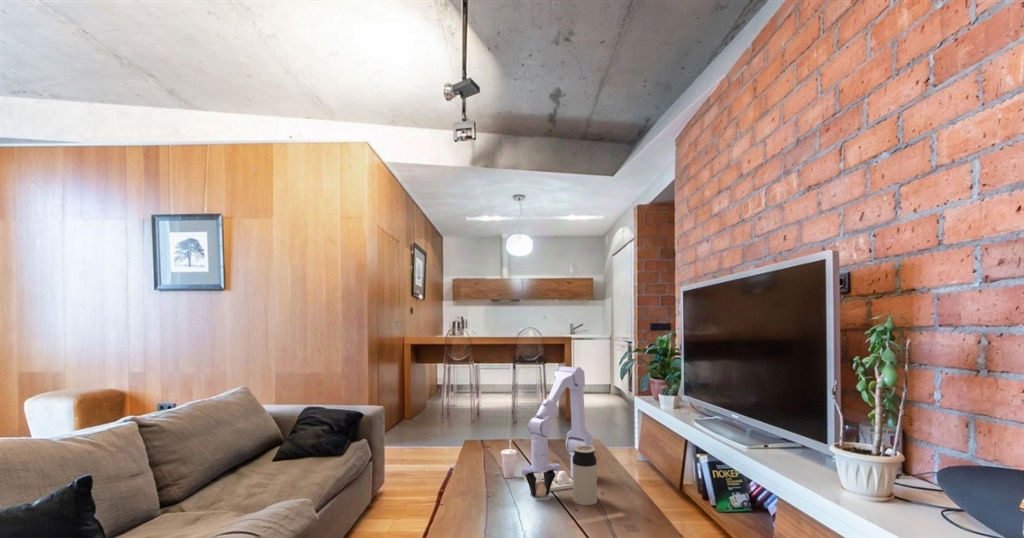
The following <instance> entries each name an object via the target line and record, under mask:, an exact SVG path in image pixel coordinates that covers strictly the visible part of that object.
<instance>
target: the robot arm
mask: <svg viewBox="0 0 1024 538" xmlns="http://www.w3.org/2000/svg"><path fill="white" fill-rule="evenodd" d="M553 375H554V382H553V385H552V387H551V390H550V392H549V395H548V398H545V399H544V400H542V403H541V404H540V406H539V409H537V412H536V414H535V415H534V416H533V417H532V418H530V420H529V421H528V423H527V424H528V425H527V431H528V433H529V438H530V444H531V445H530V446H531V447H530V448H531V458H530V459H531V461H530V462H531V465H528V466H525V467H520V468H519V469H518V470H519V471H518V473H519V475H520V476H521V477H523V476H524V475H525V477H526V479H527V481H528V482H527V483H528V486H529V491H530V493H531V495H532V496H533V497H535V494H536V493H535V485H536V477H535V475H534V473H543V474H544V478H543V480H544V483H545V486H546V488H547V492H546V494H547V495H550V492H551V491H550V487H552V485H551V484H552V481H553V479H554V477H555V473H554V471H556V470H557V471H561V465H560V464H558V463H549V442H548V441H549V438H548V436H549V435H550V433H551V431H552V424H553V421H552V420H553V419H554V416H555V414H556V412H557V410H558V408H559V407H558V404H557V403H558V402H559V400H560V398H561V396H562V395H563V394H564V391H565V390H566V389H567V388H568V389H569V393H570V395H569V396H570V415H571V417H570V418H571V423H570V424H571V430H569V431H568V432H567V433H566V440H565V448H566V451H567V452H568V455H570V478H571V479H573V455H574V450H573V447H575V446H578V445H588V446H592V447H594V448H595V444H594V441H593V435H592V434H591V432H590V431H588V430H587V429H586V418H585V416H586V415H585V394H584V387H586V384H585V383H586V382H585V381H586V380H585V379H586V377H585V371H584V369H582V367H580V366H578V367H577V366H564V365H558V366H557V368H556V369H555V372H554V374H553ZM597 480H598V478H597Z"/></svg>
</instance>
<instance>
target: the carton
mask: <svg viewBox="0 0 1024 538" xmlns="http://www.w3.org/2000/svg"><path fill="white" fill-rule="evenodd" d="M522 479H523V480H524V481H525V482H526V483H528V481H527V479H526V477H525V475H524V476H522ZM542 481H543V482H544V474H543V479H542ZM536 482H537V481H536ZM568 489H573V478H572V477H569V483H568V484H566V485H558V483H557V480H556V478H554V479H553V481H552V484H551V487H550V491H549V492H555V491H562V490H568Z"/></svg>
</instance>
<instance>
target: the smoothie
mask: <svg viewBox="0 0 1024 538" xmlns="http://www.w3.org/2000/svg"><path fill="white" fill-rule="evenodd" d="M500 455H501V459H502V460H501V461H502V469H503V478H504V477H505V479H507V478H508V479H509V480H510V478H511V479H513V478H515V469H516V460H517V455H518V452H517V450H516V449H512V439H509V448H506V449H503V450H501V451H500Z"/></svg>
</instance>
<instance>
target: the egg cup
mask: <svg viewBox="0 0 1024 538" xmlns="http://www.w3.org/2000/svg"><path fill="white" fill-rule="evenodd" d="M529 496H530V497H531V499H533V500H534V501H535V502H539V501H547V500H551V499H552V496H550V494H548V495H547V494H545V496H543V497H537V496H536V495H535V497H533V496H532V495H531V492H530V493H529Z"/></svg>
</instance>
